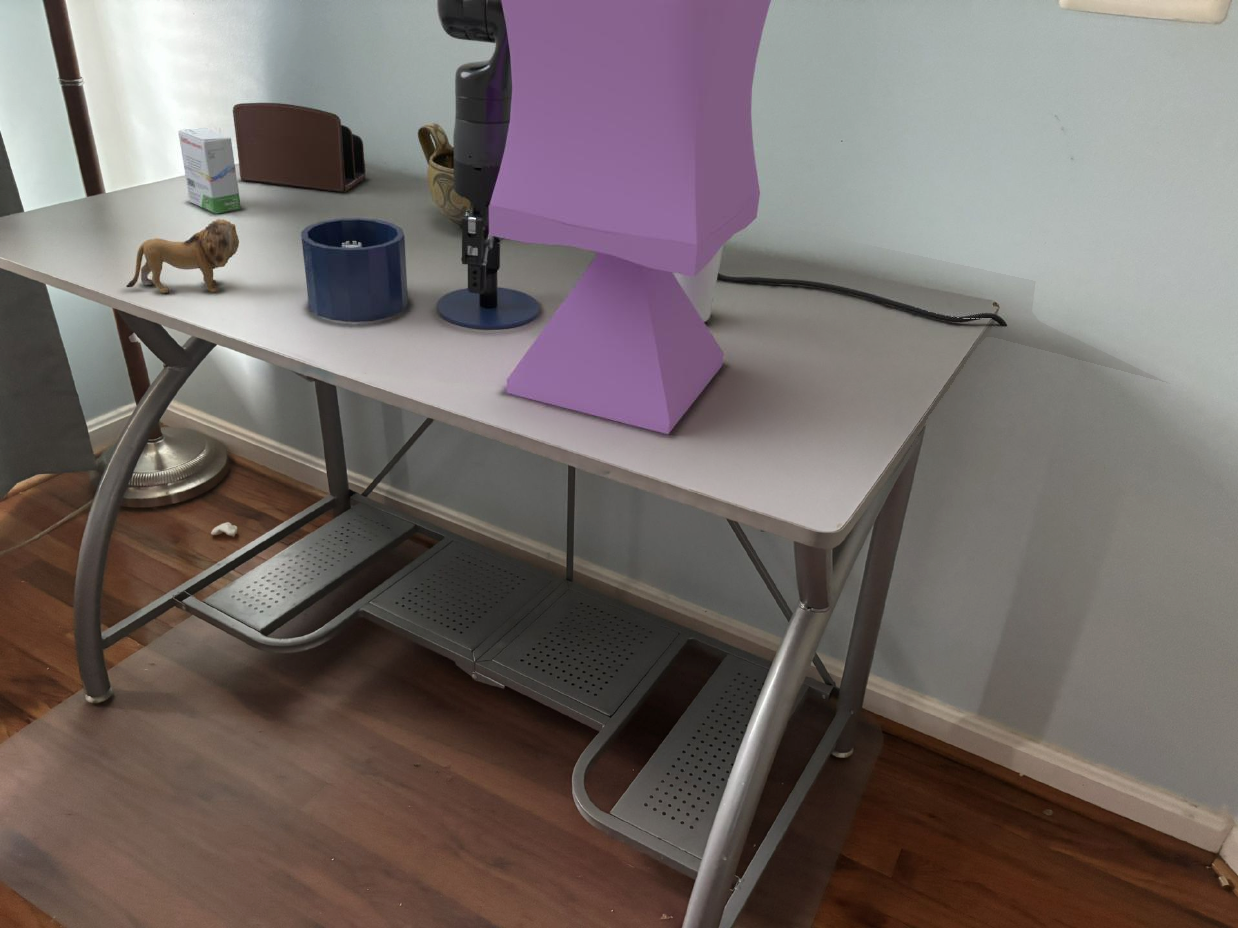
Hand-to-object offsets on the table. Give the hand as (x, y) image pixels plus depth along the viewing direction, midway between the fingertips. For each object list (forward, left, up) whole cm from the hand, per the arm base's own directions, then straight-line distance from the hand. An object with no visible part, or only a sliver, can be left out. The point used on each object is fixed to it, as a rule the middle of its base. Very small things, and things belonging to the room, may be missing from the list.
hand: (484, 281), depth 126 cm
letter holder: (+44, -53, -5) cm, 69 cm away
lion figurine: (+40, +1, -5) cm, 40 cm away
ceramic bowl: (+8, -37, -5) cm, 38 cm away
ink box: (+52, -34, -5) cm, 63 cm away
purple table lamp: (-20, +16, -5) cm, 26 cm away
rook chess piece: (+17, +2, -4) cm, 17 cm away
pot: (+16, +2, -4) cm, 17 cm away
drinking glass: (-28, -5, -5) cm, 28 cm away
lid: (-1, 0, -4) cm, 4 cm away
